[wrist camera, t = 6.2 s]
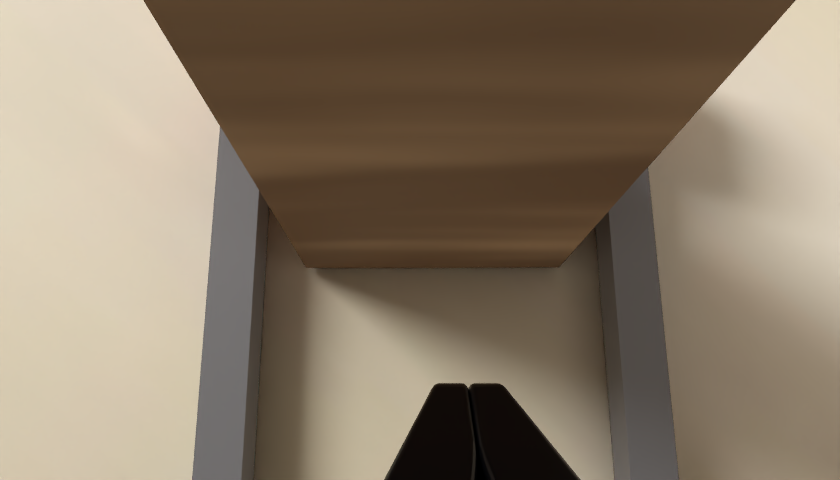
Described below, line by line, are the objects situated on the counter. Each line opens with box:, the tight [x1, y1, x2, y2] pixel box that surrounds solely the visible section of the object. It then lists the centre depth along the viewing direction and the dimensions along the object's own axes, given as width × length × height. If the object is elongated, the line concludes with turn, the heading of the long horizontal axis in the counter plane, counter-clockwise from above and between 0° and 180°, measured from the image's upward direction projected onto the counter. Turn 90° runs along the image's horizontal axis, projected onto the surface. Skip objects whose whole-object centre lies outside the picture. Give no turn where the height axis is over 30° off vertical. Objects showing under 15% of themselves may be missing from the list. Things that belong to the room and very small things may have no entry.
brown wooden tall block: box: [144, 0, 795, 268], centre depth 11 cm, size 3×6×13 cm, turn 90°
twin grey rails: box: [192, 127, 679, 480], centre depth 14 cm, size 18×10×3 cm, turn 0°
